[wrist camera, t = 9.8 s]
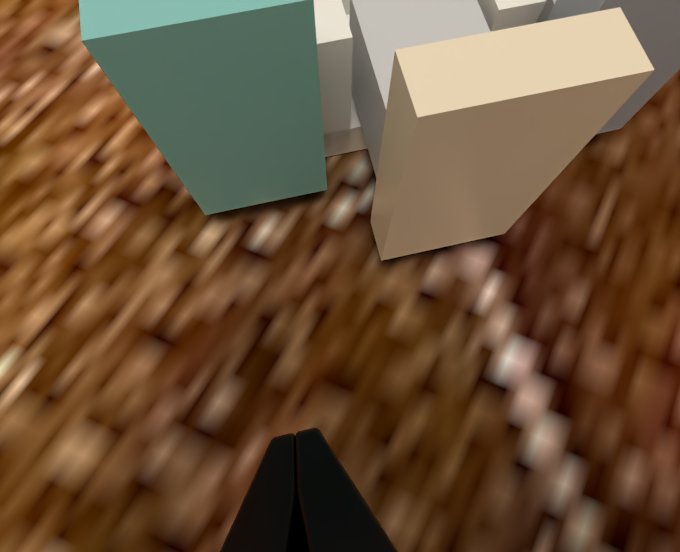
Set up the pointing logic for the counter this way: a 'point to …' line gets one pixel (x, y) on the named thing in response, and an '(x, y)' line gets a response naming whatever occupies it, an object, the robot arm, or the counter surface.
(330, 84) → the gray divided box
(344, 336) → the counter surface
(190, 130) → the button teal
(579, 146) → the button tan
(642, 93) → the drawer slate
